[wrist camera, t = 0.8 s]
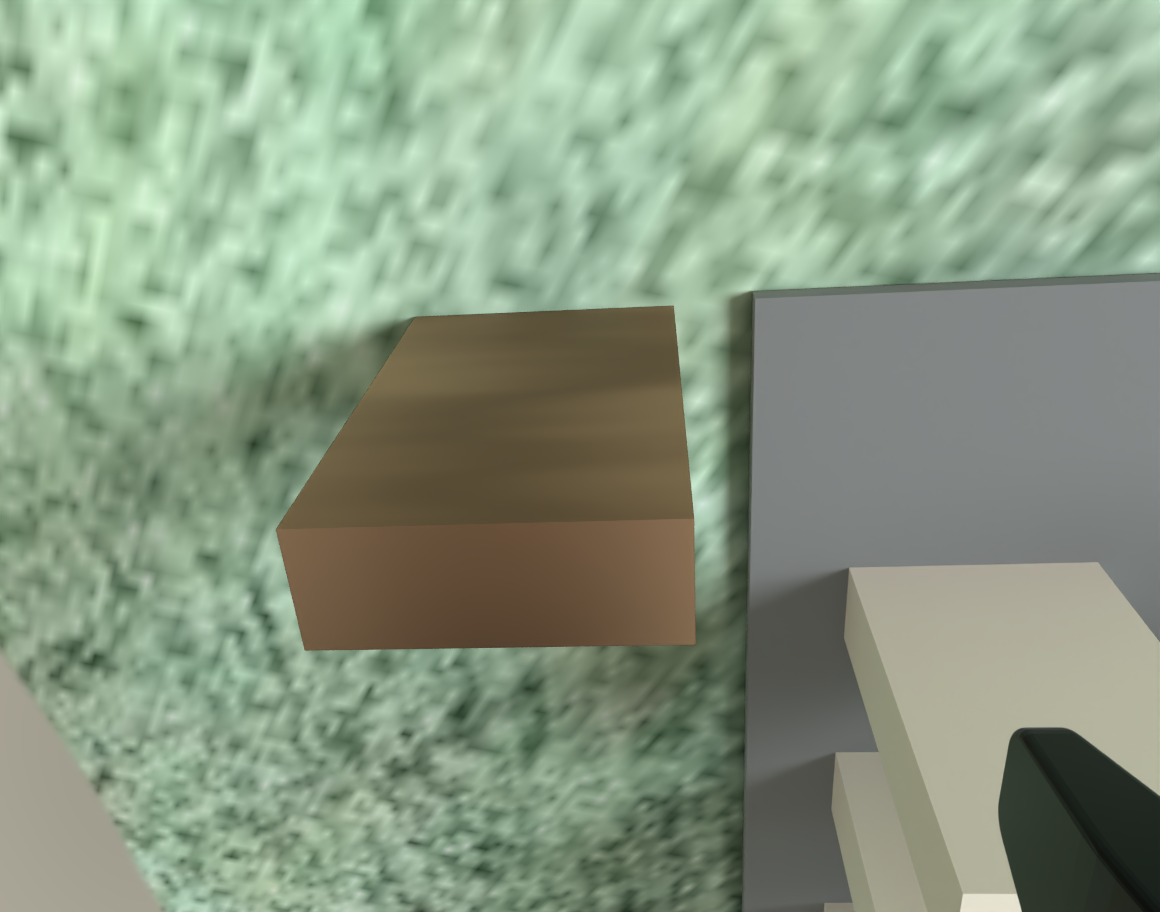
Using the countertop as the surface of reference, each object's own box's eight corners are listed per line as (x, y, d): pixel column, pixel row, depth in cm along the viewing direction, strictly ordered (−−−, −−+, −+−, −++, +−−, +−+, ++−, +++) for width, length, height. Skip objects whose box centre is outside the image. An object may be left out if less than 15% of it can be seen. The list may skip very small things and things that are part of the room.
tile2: (1097, 562, 17) (1356, 895, 11) (1082, 634, 18) (1318, 985, 12) (849, 567, 18) (963, 893, 11) (843, 637, 18) (948, 981, 12)
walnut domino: (673, 305, 16) (694, 518, 10) (675, 393, 17) (695, 643, 11) (414, 316, 16) (275, 529, 10) (427, 402, 17) (304, 650, 11)
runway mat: (1264, 268, 15) (1278, 276, 15) (1042, 1118, 25) (1048, 1134, 25) (752, 291, 16) (755, 298, 15) (738, 1110, 26) (739, 1126, 26)
